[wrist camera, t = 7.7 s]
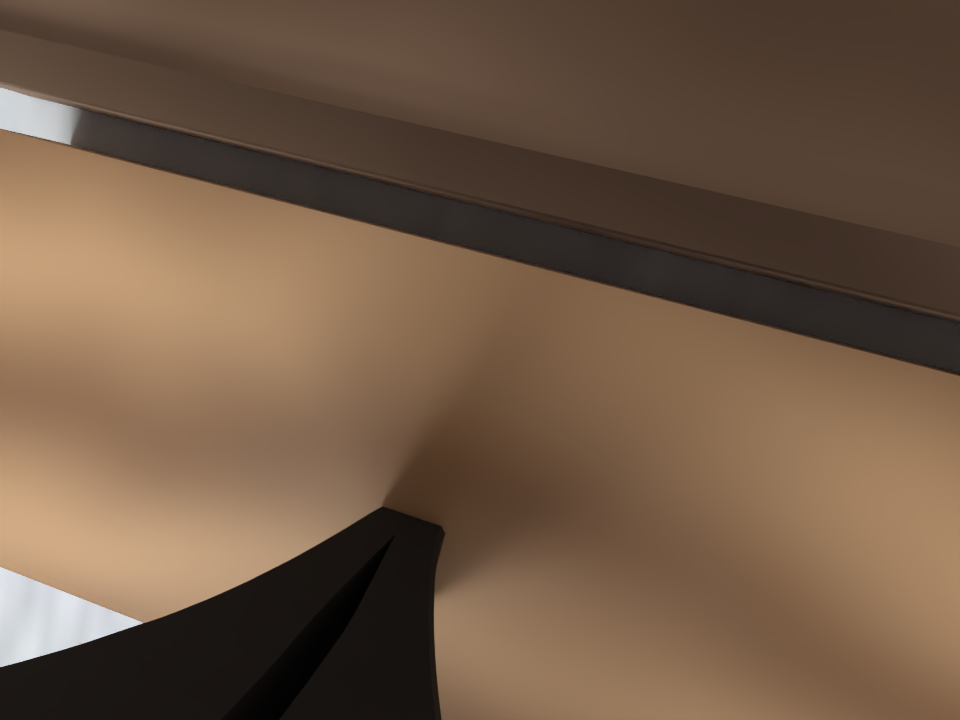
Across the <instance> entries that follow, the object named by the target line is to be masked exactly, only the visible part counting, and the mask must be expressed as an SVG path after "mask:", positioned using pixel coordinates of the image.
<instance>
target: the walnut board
mask: <svg viewBox="0 0 960 720" xmlns="http://www.w3.org/2000/svg"><path fill="white" fill-rule="evenodd" d="M0 87H1V88H5V89H8V90H11V91H15V92H18V93H21V94H25V95H28V96H31V97H35V98H40V99H44V100H48V101H52V102H56V103H60V104H64V105H68V106H72V107H76V108H80V109H84V110H89V111H93V112H97V113H101V114H105V115H109V116H113V117H117V118H121V119H125V120H129V121H133V122H138V123H142V124H146V125H150V126H154V127H158V128H162V129H166V130H170V131H174V132H178V133H182V134H187V135H191V136H195V137H199V138H203V139H207V140H211V141H215V142H219V143H223V144H227V145H231V146H236V147H240V148H244V149H248V150H252V151H256V152H260V153H264V154H268V155H272V156H276V157H280V158H284V159H289V160H293V161H297V162H301V163H305V164H309V165H313V166H317V167H321V168H325V169H329V170H333V171H338V172H342V173H346V174H350V175H354V176H358V177H362V178H366V179H370V180H374V181H378V182H382V183H387V184H391V185H395V186H399V187H403V188H407V189H411V190H415V191H419V192H423V193H427V194H431V195H436V196H440V197H444V198H448V199H452V200H456V201H460V202H464V203H468V204H472V205H476V206H480V207H484V208H489V209H493V210H497V211H501V212H505V213H509V214H513V215H517V216H521V217H525V218H529V219H533V220H538V221H542V222H546V223H550V224H554V225H558V226H562V227H566V228H570V229H574V230H578V231H582V232H587V233H591V234H595V235H599V236H603V237H607V238H611V239H615V240H619V241H623V242H627V243H631V244H636V245H640V246H644V247H648V248H652V249H656V250H660V251H664V252H668V253H672V254H676V255H680V256H684V257H689V258H693V259H697V260H701V261H705V262H709V263H713V264H717V265H721V266H725V267H729V268H733V269H738V270H742V271H746V272H750V273H754V274H758V275H762V276H766V277H770V278H774V279H778V280H782V281H787V282H791V283H795V284H799V285H803V286H807V287H811V288H815V289H819V290H823V291H827V292H831V293H836V294H840V295H844V296H848V297H852V298H856V299H860V300H864V301H868V302H872V303H876V304H880V305H885V306H889V307H893V308H897V309H901V310H905V311H909V312H913V313H917V314H921V315H925V316H929V317H933V318H938V319H942V320H946V321H950V322H954V323H958V324H960V0H0Z"/></svg>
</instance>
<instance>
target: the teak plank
mask: <svg viewBox="0 0 960 720" xmlns="http://www.w3.org/2000/svg"><path fill="white" fill-rule="evenodd" d="M382 506H383V507H386V508H389V509H392V510H395V511H398V512H401V513H404V514H407V515H410V516H413V517H415V518H418V519H421V520H424V521H427V522H430V523H433V524H436V525H439V526H442V528H443V530H444V532H445V537H444V541H443V544H442V548H441V552H440V556H439V559H438V563H437V567H436V575H435V591H434V639H435V660H436V673H437V684H438V694H439V702H440V710H441V719H442V720H960V373H957V372H953V371H949V370H945V369H941V368H937V367H933V366H930V365H926V364H922V363H918V362H914V361H910V360H906V359H902V358H898V357H894V356H891V355H887V354H883V353H879V352H875V351H871V350H867V349H863V348H859V347H855V346H852V345H848V344H844V343H840V342H836V341H832V340H828V339H824V338H820V337H816V336H813V335H809V334H805V333H801V332H797V331H793V330H789V329H785V328H781V327H778V326H774V325H770V324H766V323H762V322H758V321H754V320H750V319H746V318H742V317H739V316H735V315H731V314H727V313H723V312H719V311H715V310H711V309H707V308H703V307H700V306H696V305H692V304H688V303H684V302H680V301H676V300H672V299H668V298H665V297H661V296H657V295H653V294H649V293H645V292H641V291H637V290H633V289H629V288H626V287H622V286H618V285H614V284H610V283H606V282H602V281H598V280H594V279H590V278H587V277H583V276H579V275H575V274H571V273H567V272H563V271H559V270H555V269H551V268H548V267H544V266H540V265H536V264H532V263H528V262H524V261H520V260H516V259H513V258H509V257H505V256H501V255H497V254H493V253H489V252H485V251H481V250H477V249H474V248H470V247H466V246H462V245H458V244H454V243H450V242H446V241H442V240H438V239H435V238H431V237H427V236H423V235H419V234H415V233H411V232H407V231H403V230H399V229H396V228H392V227H388V226H384V225H380V224H376V223H372V222H368V221H364V220H361V219H357V218H353V217H349V216H345V215H341V214H337V213H333V212H329V211H325V210H322V209H318V208H314V207H310V206H306V205H302V204H298V203H294V202H290V201H286V200H283V199H279V198H275V197H271V196H267V195H263V194H259V193H255V192H251V191H247V190H244V189H240V188H236V187H232V186H228V185H224V184H220V183H216V182H212V181H209V180H205V179H201V178H197V177H193V176H189V175H185V174H181V173H177V172H173V171H170V170H166V169H162V168H158V167H154V166H150V165H146V164H142V163H138V162H134V161H131V160H127V159H123V158H119V157H115V156H111V155H107V154H103V153H99V152H95V151H92V150H88V149H84V148H80V147H76V146H72V145H68V144H64V143H60V142H55V141H51V140H47V139H42V138H38V137H34V136H29V135H25V134H21V133H16V132H12V131H8V130H3V129H0V567H2V568H5V569H8V570H10V571H13V572H15V573H18V574H20V575H23V576H26V577H28V578H31V579H33V580H36V581H38V582H41V583H43V584H46V585H49V586H51V587H54V588H56V589H59V590H61V591H64V592H67V593H69V594H72V595H74V596H77V597H79V598H82V599H84V600H87V601H90V602H92V603H95V604H97V605H100V606H102V607H105V608H108V609H110V610H113V611H115V612H118V613H120V614H123V615H125V616H128V617H131V618H133V619H136V620H138V621H141V622H143V623H146V622H149V621H152V620H155V619H158V618H161V617H164V616H166V615H169V614H172V613H174V612H177V611H179V610H182V609H184V608H187V607H189V606H192V605H194V604H197V603H199V602H202V601H204V600H207V599H209V598H211V597H214V596H216V595H218V594H221V593H223V592H225V591H227V590H230V589H232V588H234V587H236V586H238V585H241V584H243V583H245V582H247V581H249V580H251V579H253V578H255V577H257V576H259V575H261V574H263V573H265V572H267V571H269V570H271V569H273V568H275V567H277V566H279V565H281V564H283V563H285V562H287V561H289V560H291V559H292V558H294V557H296V556H298V555H300V554H302V553H303V552H305V551H307V550H309V549H310V548H312V547H314V546H316V545H317V544H319V543H321V542H323V541H325V540H326V539H328V538H330V537H332V536H333V535H335V534H337V533H338V532H340V531H342V530H343V529H345V528H347V527H348V526H350V525H351V524H353V523H355V522H356V521H358V520H360V519H361V518H363V517H364V516H366V515H368V514H369V513H371V512H373V511H374V510H376V509H378V508H380V507H382Z"/></svg>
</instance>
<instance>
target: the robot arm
mask: <svg viewBox="0 0 960 720" xmlns="http://www.w3.org/2000/svg"><path fill="white" fill-rule="evenodd" d="M444 537H445V532H444V530H443V528H442V526H439V525H436V524H433V523H430V522H427V521H424V520H421V519H418V518H415V517H413V516H410V515H407V514H404V513H401V512H398V511H395V510H392V509H389V508H386V507H383V506H382V507H380V508H378V509H376V510H374V511H373V512H371V513H369V514H368V515H366V516H364V517H363V518H361V519H360V520H358V521H356V522H355V523H353V524H351V525H350V526H348V527H347V528H345V529H343V530H342V531H340V532H338V533H337V534H335V535H333V536H332V537H330V538H328V539H326V540H325V541H323V542H321V543H319V544H317V545H316V546H314V547H312V548H310V549H309V550H307V551H305V552H303V553H302V554H300V555H298V556H296V557H294V558H292V559H291V560H289V561H287V562H285V563H283V564H281V565H279V566H277V567H275V568H273V569H271V570H269V571H267V572H265V573H263V574H261V575H259V576H257V577H255V578H253V579H251V580H249V581H247V582H245V583H243V584H241V585H238V586H236V587H234V588H232V589H230V590H227V591H225V592H223V593H221V594H218V595H216V596H214V597H211V598H209V599H207V600H204V601H202V602H199V603H197V604H194V605H192V606H189V607H187V608H184V609H182V610H179V611H177V612H174V613H172V614H169V615H166V616H164V617H161V618H158V619H155V620H152V621H149V622H146V623H143V624H140V625H137V626H134V627H131V628H128V629H125V630H122V631H119V632H117V633H114V634H111V635H108V636H105V637H102V638H99V639H96V640H93V641H90V642H87V643H84V644H81V645H78V646H74V647H71V648H68V649H64V650H61V651H57V652H54V653H50V654H47V655H44V656H40V657H37V658H33V659H30V660H26V661H23V662H19V663H15V664H12V665H8V666H4V667H0V720H442V719H441V710H440V702H439V694H438V684H437V673H436V660H435V639H434V591H435V575H436V567H437V563H438V559H439V556H440V552H441V548H442V544H443V541H444Z"/></svg>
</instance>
